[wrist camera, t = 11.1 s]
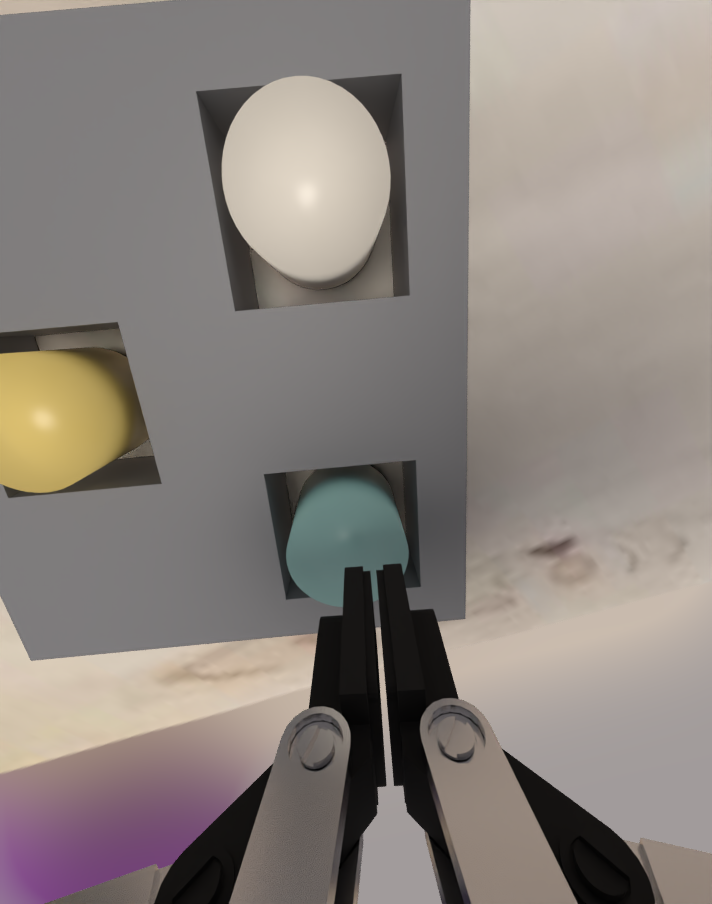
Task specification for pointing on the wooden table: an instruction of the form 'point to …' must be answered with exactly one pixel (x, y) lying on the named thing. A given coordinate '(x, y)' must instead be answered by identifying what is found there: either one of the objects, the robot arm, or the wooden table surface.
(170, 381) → the console
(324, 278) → the ivory button
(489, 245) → the wooden table surface
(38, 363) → the mustard button
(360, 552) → the teal button
